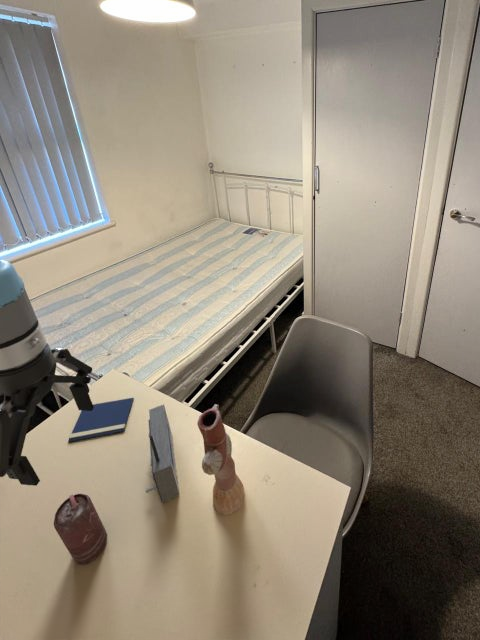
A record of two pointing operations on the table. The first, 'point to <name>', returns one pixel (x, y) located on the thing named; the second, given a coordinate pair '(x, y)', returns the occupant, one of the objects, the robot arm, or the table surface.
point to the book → (102, 420)
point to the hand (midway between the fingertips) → (61, 442)
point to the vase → (220, 462)
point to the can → (80, 528)
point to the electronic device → (162, 455)
